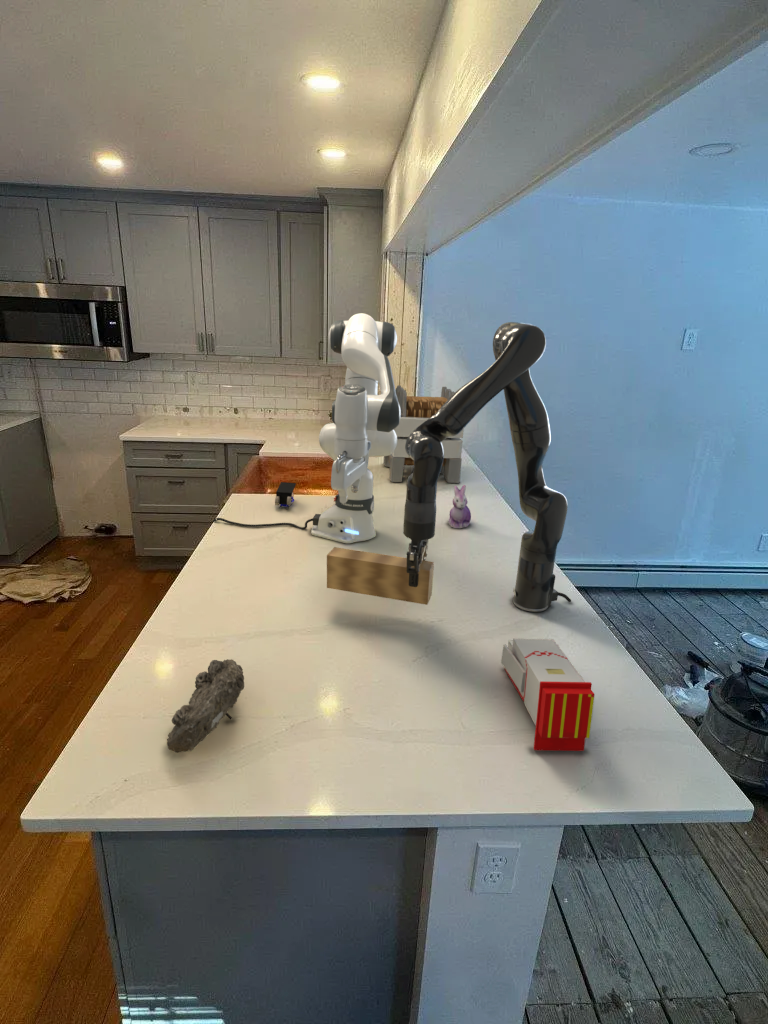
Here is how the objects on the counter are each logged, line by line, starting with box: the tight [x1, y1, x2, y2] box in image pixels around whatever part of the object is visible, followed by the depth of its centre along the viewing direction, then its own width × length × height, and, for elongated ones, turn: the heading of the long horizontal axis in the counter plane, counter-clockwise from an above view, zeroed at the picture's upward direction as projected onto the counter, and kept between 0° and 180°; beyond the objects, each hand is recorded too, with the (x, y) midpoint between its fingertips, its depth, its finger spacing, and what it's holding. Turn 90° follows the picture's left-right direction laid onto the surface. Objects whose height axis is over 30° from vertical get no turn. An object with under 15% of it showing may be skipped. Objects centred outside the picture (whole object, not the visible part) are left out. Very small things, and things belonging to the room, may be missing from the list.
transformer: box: [383, 384, 465, 484], centre depth 268 cm, size 34×33×41 cm
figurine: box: [448, 484, 472, 529], centre depth 208 cm, size 9×10×15 cm
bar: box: [326, 546, 435, 606], centre depth 142 cm, size 26×5×9 cm, turn 74°
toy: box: [500, 637, 595, 752], centre depth 114 cm, size 12×13×30 cm
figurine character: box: [274, 481, 297, 510], centre depth 222 cm, size 7×8×15 cm
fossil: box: [166, 658, 245, 754], centre depth 106 cm, size 22×10×15 cm
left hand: (349, 497), depth 155 cm, fingers open, 8 cm apart
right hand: (416, 580), depth 140 cm, fingers closed on bar, 5 cm apart
